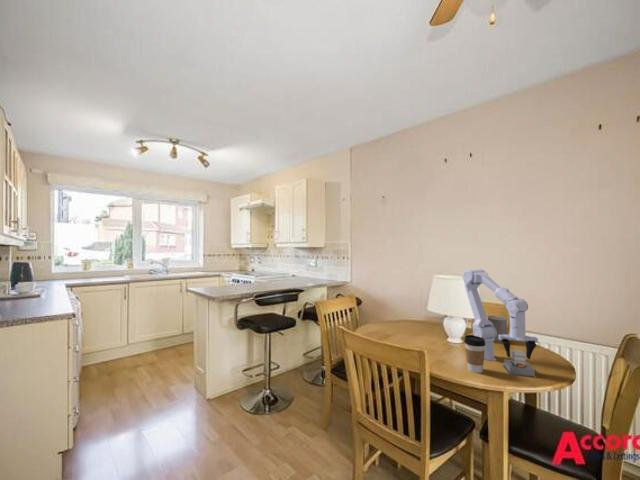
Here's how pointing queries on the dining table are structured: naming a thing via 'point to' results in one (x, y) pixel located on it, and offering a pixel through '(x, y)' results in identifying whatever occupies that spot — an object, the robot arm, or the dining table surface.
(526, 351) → the robot arm
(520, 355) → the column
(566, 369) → the dining table surface
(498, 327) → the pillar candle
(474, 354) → the coffee cup
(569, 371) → the dining table surface
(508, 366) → the stand base
